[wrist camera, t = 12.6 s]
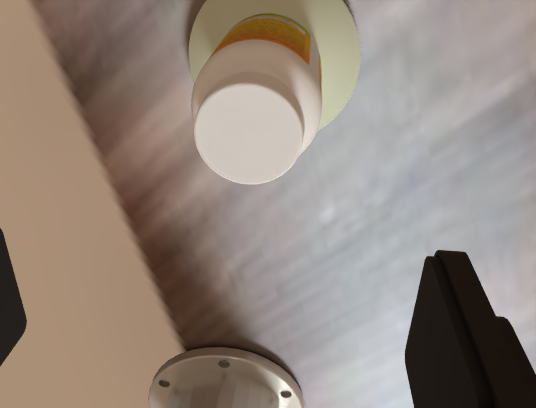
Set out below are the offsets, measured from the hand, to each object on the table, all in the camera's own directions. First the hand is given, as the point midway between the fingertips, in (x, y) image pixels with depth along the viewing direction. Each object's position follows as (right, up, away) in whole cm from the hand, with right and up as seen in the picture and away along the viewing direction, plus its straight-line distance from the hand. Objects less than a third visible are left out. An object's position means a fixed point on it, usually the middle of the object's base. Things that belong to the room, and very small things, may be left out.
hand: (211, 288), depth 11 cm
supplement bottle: (+1, +9, +15) cm, 18 cm away
